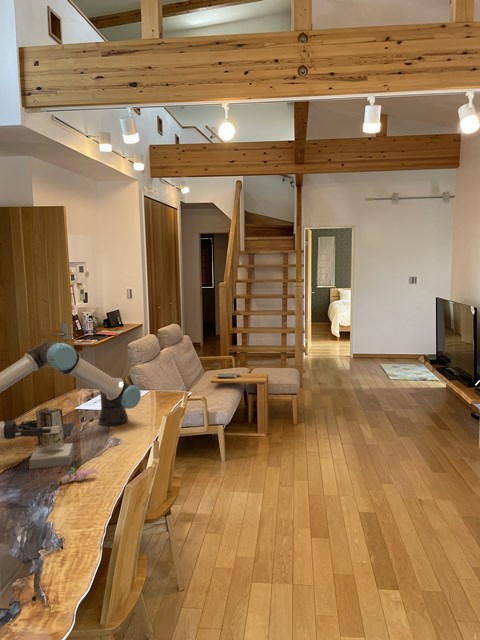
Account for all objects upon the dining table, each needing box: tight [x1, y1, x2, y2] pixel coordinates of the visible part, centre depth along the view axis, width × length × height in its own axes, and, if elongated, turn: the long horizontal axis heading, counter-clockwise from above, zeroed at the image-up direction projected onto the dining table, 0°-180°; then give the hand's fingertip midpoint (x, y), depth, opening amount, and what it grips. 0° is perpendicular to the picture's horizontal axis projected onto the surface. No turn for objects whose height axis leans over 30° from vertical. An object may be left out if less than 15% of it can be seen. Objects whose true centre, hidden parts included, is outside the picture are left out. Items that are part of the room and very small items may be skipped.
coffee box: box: [35, 407, 65, 450], centre depth 217 cm, size 9×6×16 cm
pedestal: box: [28, 442, 75, 470], centre depth 218 cm, size 16×16×4 cm
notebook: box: [63, 422, 75, 440], centre depth 255 cm, size 13×2×21 cm
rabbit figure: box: [57, 467, 99, 485], centre depth 196 cm, size 6×6×15 cm
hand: (60, 425), depth 218 cm, fingers closed on coffee box, 10 cm apart
